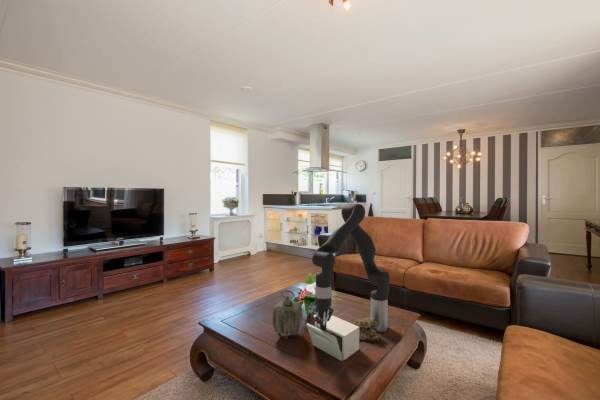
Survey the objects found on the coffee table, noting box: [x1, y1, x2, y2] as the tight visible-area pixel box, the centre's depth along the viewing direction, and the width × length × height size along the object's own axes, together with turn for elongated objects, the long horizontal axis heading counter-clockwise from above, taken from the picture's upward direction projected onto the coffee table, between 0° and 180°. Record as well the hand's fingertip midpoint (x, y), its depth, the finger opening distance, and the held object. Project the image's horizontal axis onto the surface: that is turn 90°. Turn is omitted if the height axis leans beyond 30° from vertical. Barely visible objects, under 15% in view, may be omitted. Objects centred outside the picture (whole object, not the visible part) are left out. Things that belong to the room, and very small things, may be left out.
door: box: [306, 322, 344, 362], centre depth 128 cm, size 2×17×14 cm, turn 44°
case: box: [314, 314, 360, 361], centre depth 135 cm, size 12×18×12 cm, turn 44°
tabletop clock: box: [272, 290, 304, 340], centre depth 144 cm, size 14×9×25 cm, turn 77°
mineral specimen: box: [352, 317, 380, 343], centre depth 145 cm, size 14×13×10 cm
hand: (323, 331), depth 128 cm, fingers closed
